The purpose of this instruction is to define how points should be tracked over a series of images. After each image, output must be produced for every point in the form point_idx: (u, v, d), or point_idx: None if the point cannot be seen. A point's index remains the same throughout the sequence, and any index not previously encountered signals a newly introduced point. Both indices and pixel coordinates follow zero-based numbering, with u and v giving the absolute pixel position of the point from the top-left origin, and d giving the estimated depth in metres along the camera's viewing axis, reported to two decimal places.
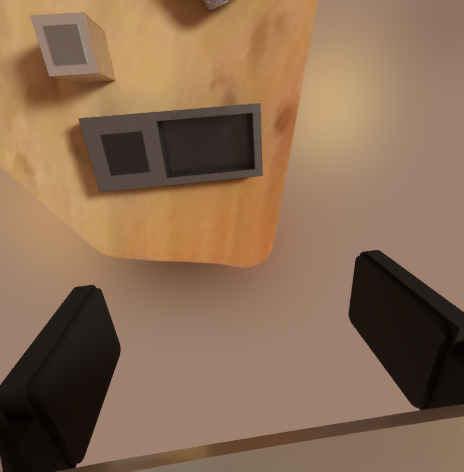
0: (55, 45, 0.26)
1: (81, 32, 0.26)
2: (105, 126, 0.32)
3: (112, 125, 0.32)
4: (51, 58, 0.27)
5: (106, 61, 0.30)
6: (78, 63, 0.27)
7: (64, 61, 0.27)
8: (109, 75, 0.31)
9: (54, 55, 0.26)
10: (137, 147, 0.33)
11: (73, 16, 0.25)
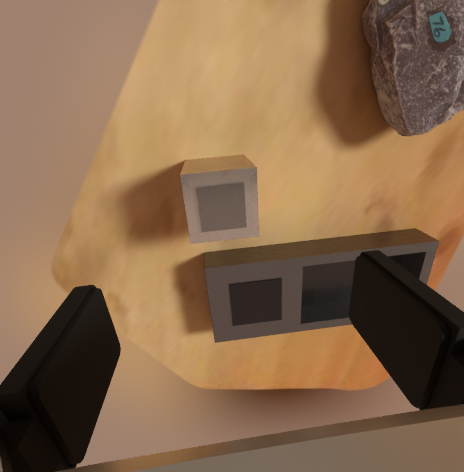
0: (208, 209, 0.18)
1: (246, 191, 0.18)
2: (237, 275, 0.24)
3: (246, 273, 0.24)
4: (198, 223, 0.18)
5: None
6: (234, 228, 0.19)
7: (215, 227, 0.19)
8: None
9: (202, 220, 0.18)
10: (271, 295, 0.25)
11: (240, 172, 0.17)
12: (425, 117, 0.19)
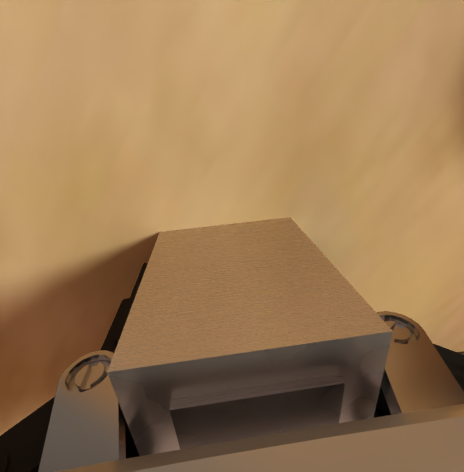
0: None
1: (343, 393, 0.05)
2: None
3: None
4: None
5: None
6: None
7: None
8: None
9: None
10: None
11: (332, 350, 0.05)
12: None
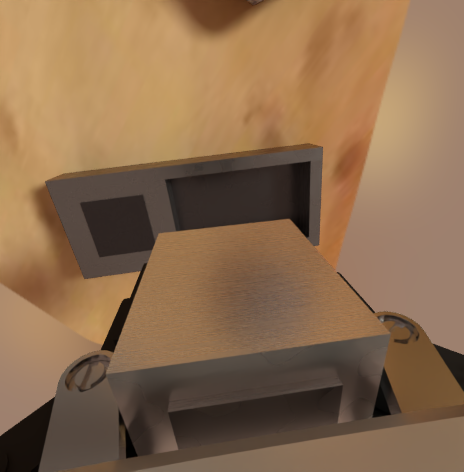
0: None
1: (342, 395, 0.05)
2: (87, 190, 0.21)
3: (98, 188, 0.21)
4: None
5: None
6: None
7: None
8: None
9: None
10: (136, 217, 0.22)
11: (330, 352, 0.05)
12: None
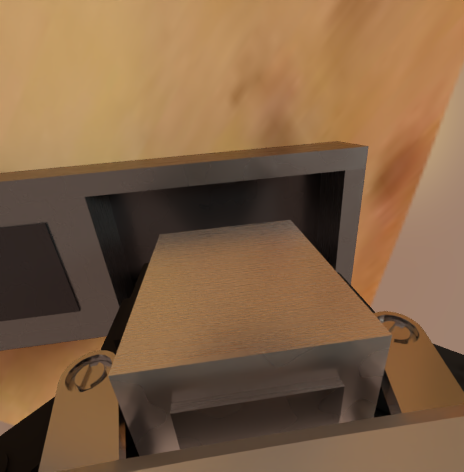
0: None
1: (343, 397, 0.05)
2: None
3: None
4: None
5: None
6: None
7: None
8: None
9: None
10: (39, 260, 0.13)
11: (332, 354, 0.05)
12: None
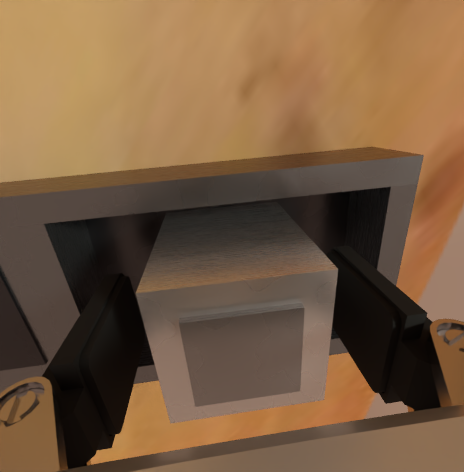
0: (212, 365, 0.07)
1: (305, 320, 0.07)
2: None
3: None
4: (187, 389, 0.08)
5: None
6: (271, 391, 0.08)
7: (228, 396, 0.08)
8: None
9: (198, 381, 0.08)
10: None
11: (295, 283, 0.07)
12: None
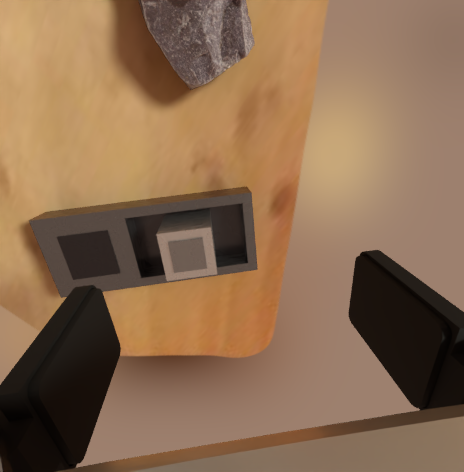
0: (178, 257, 0.25)
1: (204, 243, 0.25)
2: (62, 227, 0.26)
3: (71, 226, 0.26)
4: (171, 266, 0.25)
5: None
6: (198, 269, 0.26)
7: (184, 269, 0.25)
8: (215, 256, 0.29)
9: (174, 264, 0.25)
10: (103, 248, 0.27)
11: (199, 231, 0.24)
12: (193, 68, 0.22)
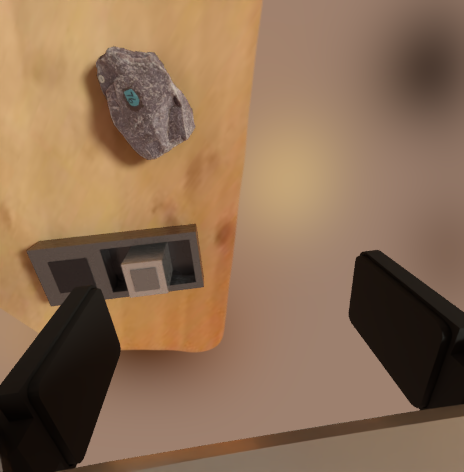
0: (137, 281, 0.34)
1: (157, 271, 0.34)
2: (51, 255, 0.35)
3: (58, 254, 0.35)
4: (133, 287, 0.34)
5: (169, 268, 0.38)
6: (153, 289, 0.35)
7: (142, 289, 0.34)
8: (170, 276, 0.38)
9: (135, 285, 0.34)
10: (83, 270, 0.36)
11: (153, 263, 0.33)
12: (147, 149, 0.30)
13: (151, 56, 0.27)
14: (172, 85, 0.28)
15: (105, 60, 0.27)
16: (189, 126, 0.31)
